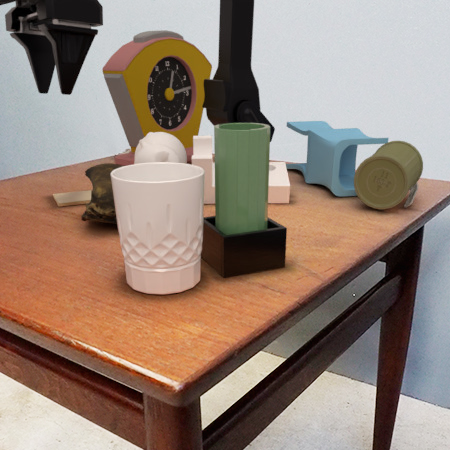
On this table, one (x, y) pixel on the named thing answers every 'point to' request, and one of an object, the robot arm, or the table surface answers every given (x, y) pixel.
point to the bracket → (203, 159)
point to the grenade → (389, 175)
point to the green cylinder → (241, 176)
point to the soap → (125, 152)
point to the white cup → (160, 224)
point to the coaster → (72, 198)
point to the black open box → (244, 249)
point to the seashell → (101, 194)
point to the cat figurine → (160, 149)
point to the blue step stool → (331, 155)
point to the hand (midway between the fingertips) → (54, 93)
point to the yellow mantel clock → (157, 88)
